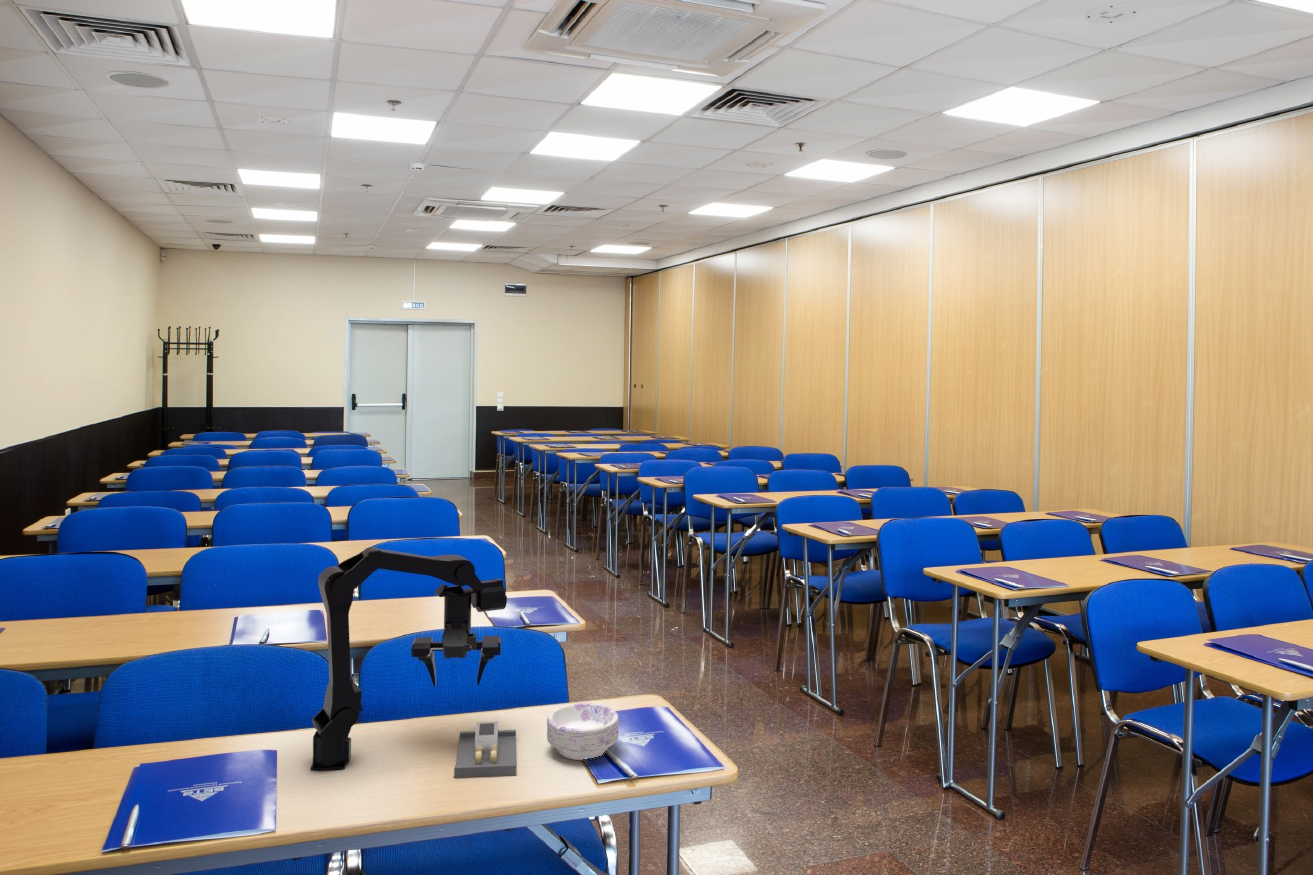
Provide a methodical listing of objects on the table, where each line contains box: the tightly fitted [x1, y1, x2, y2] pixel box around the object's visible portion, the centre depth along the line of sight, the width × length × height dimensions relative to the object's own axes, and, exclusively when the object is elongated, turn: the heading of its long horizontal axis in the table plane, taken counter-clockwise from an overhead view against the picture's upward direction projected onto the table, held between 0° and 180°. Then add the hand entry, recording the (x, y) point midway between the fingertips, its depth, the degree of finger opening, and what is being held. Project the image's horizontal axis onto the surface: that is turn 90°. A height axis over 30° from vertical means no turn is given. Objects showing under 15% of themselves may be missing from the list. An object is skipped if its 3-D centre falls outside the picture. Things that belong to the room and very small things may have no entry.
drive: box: [475, 720, 499, 761], centre depth 179 cm, size 4×8×5 cm, turn 10°
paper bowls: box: [546, 702, 620, 761], centre depth 183 cm, size 15×15×8 cm
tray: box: [453, 729, 517, 779], centre depth 179 cm, size 12×18×4 cm, turn 9°
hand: (456, 685), depth 187 cm, fingers open, 9 cm apart
